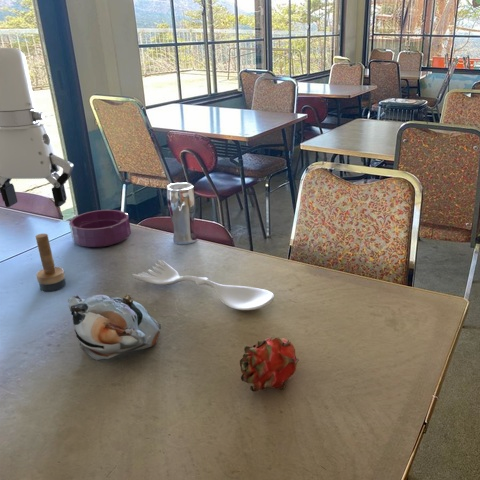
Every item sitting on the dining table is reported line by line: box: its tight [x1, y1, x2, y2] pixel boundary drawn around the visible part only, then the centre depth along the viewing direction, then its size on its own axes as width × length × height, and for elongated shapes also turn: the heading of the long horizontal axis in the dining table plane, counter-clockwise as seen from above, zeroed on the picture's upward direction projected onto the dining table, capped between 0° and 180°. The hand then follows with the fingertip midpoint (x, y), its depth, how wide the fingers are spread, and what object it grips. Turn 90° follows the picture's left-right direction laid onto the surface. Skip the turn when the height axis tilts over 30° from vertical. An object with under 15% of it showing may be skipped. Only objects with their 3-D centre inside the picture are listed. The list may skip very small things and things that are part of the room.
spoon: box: [131, 258, 275, 311], centre depth 102 cm, size 9×32×4 cm, turn 66°
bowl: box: [69, 209, 132, 248], centre depth 127 cm, size 14×14×6 cm
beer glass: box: [166, 182, 198, 246], centre depth 125 cm, size 7×7×15 cm
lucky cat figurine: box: [67, 294, 162, 361], centre depth 82 cm, size 15×12×14 cm
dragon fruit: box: [239, 336, 299, 393], centre depth 77 cm, size 8×8×12 cm
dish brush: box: [35, 233, 67, 293], centre depth 102 cm, size 5×5×12 cm
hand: (36, 204), depth 97 cm, fingers open, 9 cm apart
